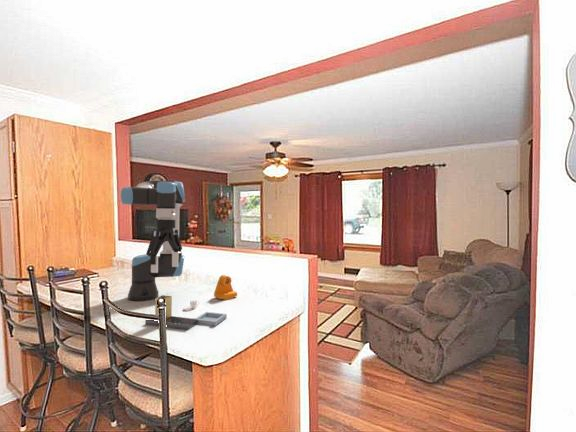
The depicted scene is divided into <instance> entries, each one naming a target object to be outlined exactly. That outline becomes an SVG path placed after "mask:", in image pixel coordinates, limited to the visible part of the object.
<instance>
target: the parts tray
mask: <svg viewBox="0 0 576 432" xmlns="http://www.w3.org/2000/svg"><path fill="white" fill-rule="evenodd" d="M194 319H198V324H197V325H199V324H200V325H206V326H207V325H208V326H210V327H217V326H219V325H220V324H221V323H222V322H224V321H225V320H226V319H227V313H219V312H212V311H211V312H210V311H205V312H204V313H202V314H200V315H199V316H197V317H195V318H194Z"/></svg>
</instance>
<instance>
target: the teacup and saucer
mask: <svg viewBox="0 0 576 432" xmlns="http://www.w3.org/2000/svg"><path fill="white" fill-rule="evenodd" d="M189 304H190V305H189V306H188V307H187V306H185V307H184V308H183V309H182V310H183V311H184V312H190V311H192V310H197V309H198V310H199V311H201V310H202V309H203V307H201V306H199V304H200V303H199V301H197V300H191V301H190V302H189ZM197 307H198V308H197ZM199 308H200V309H199Z"/></svg>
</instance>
